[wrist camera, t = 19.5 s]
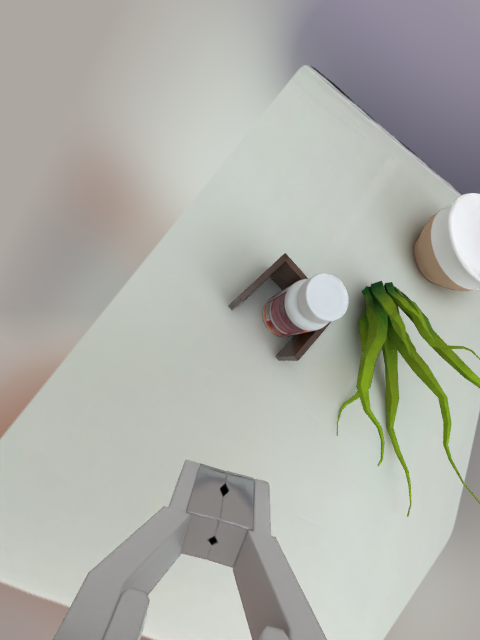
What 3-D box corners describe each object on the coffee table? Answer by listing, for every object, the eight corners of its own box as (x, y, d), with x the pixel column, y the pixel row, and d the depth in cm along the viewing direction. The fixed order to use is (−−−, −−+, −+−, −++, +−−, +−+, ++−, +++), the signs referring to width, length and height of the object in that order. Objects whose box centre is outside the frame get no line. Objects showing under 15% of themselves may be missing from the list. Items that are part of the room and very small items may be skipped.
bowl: (432, 313, 44) (486, 304, 36) (388, 236, 44) (433, 211, 37) (479, 277, 49) (535, 262, 41) (439, 207, 49) (488, 180, 42)
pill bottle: (283, 345, 35) (333, 339, 25) (253, 316, 35) (290, 296, 24) (307, 315, 37) (363, 297, 26) (278, 287, 37) (323, 257, 26)
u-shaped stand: (228, 306, 34) (238, 296, 29) (269, 268, 37) (285, 252, 31) (279, 360, 35) (298, 360, 30) (315, 319, 37) (339, 313, 32)
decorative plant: (294, 465, 33) (383, 544, 19) (357, 282, 41) (454, 241, 27) (396, 509, 36) (538, 604, 22) (437, 330, 44) (562, 317, 30)
